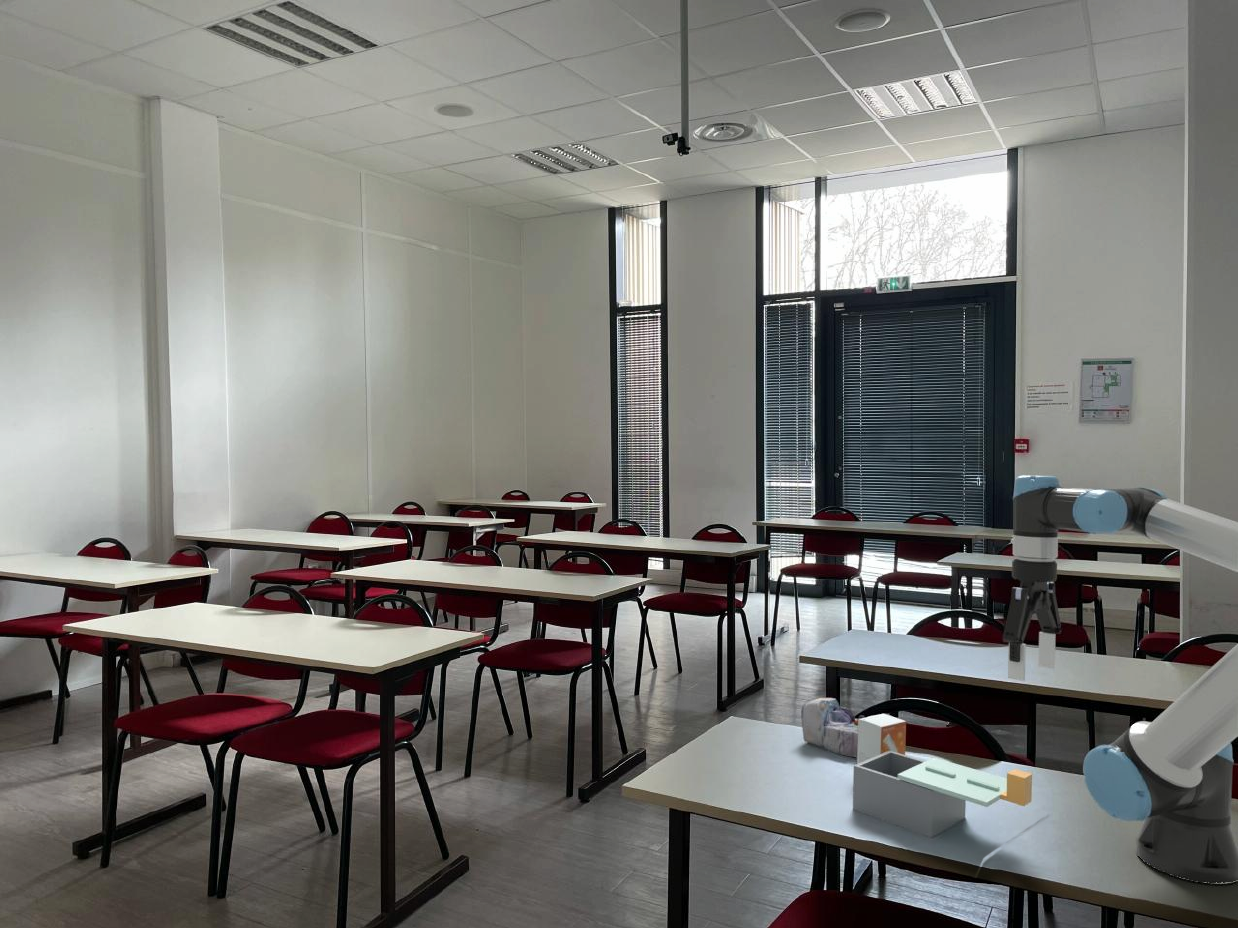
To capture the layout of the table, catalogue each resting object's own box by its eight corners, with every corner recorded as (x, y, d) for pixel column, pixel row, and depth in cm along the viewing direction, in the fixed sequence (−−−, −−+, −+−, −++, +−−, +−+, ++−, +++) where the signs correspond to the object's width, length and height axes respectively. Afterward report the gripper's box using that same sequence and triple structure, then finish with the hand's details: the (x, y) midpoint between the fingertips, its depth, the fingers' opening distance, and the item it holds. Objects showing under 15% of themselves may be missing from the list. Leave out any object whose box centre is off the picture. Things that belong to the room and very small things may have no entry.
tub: (965, 820, 163) (966, 773, 163) (931, 840, 154) (932, 790, 154) (888, 794, 175) (889, 750, 174) (852, 812, 166) (853, 765, 166)
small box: (879, 789, 177) (881, 726, 177) (855, 779, 182) (857, 718, 182) (905, 781, 182) (907, 720, 181) (881, 772, 187) (882, 712, 187)
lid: (1043, 793, 152) (1044, 766, 152) (1010, 814, 143) (1011, 785, 143) (933, 761, 168) (934, 736, 168) (897, 778, 158) (898, 752, 158)
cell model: (815, 688, 213) (897, 705, 201) (814, 732, 213) (895, 751, 202) (794, 700, 202) (879, 718, 191) (792, 746, 202) (877, 767, 191)
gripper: (1040, 552, 171) (1038, 658, 171) (984, 561, 154) (981, 680, 154) (1081, 555, 165) (1078, 666, 166) (1027, 566, 148) (1024, 688, 149)
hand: (1031, 673), depth 160 cm, fingers open, 13 cm apart
